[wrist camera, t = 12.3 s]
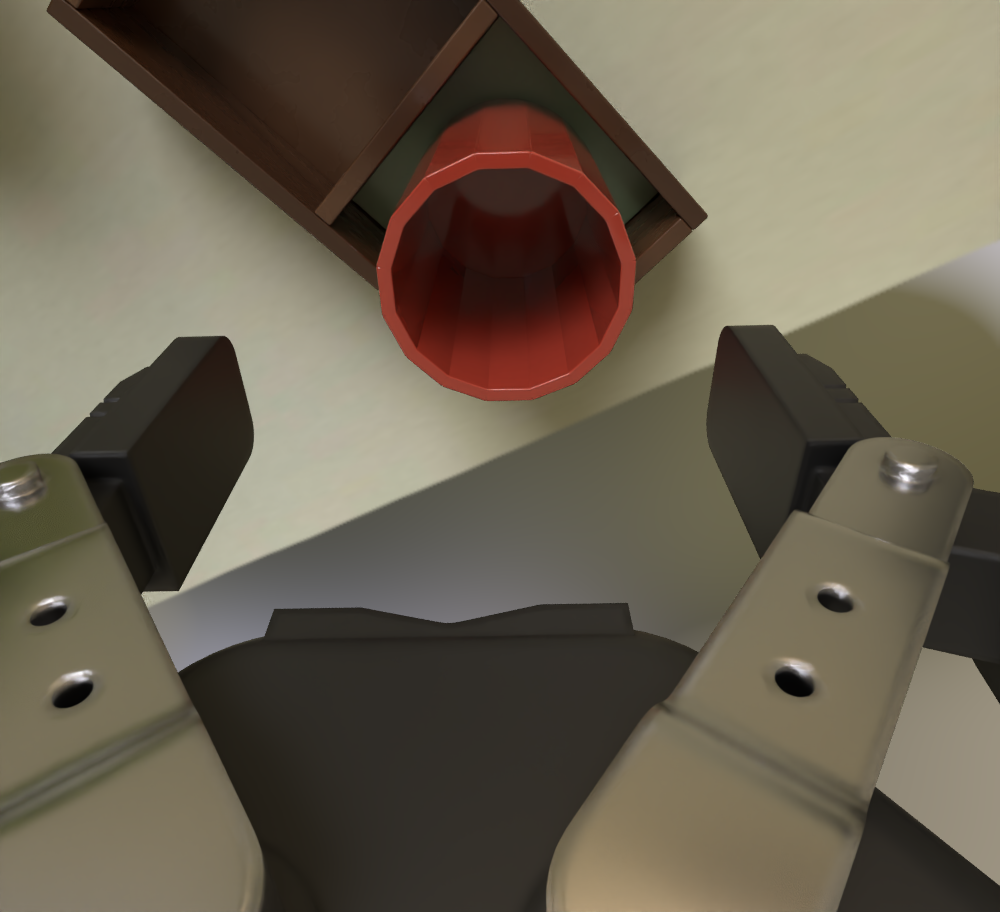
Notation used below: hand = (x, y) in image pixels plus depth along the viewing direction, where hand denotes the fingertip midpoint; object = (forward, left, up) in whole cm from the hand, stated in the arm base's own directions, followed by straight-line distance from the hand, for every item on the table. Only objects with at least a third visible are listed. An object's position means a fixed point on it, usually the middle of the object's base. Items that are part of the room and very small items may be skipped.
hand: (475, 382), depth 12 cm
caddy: (-2, +2, -15) cm, 16 cm away
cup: (+1, 0, -14) cm, 14 cm away
